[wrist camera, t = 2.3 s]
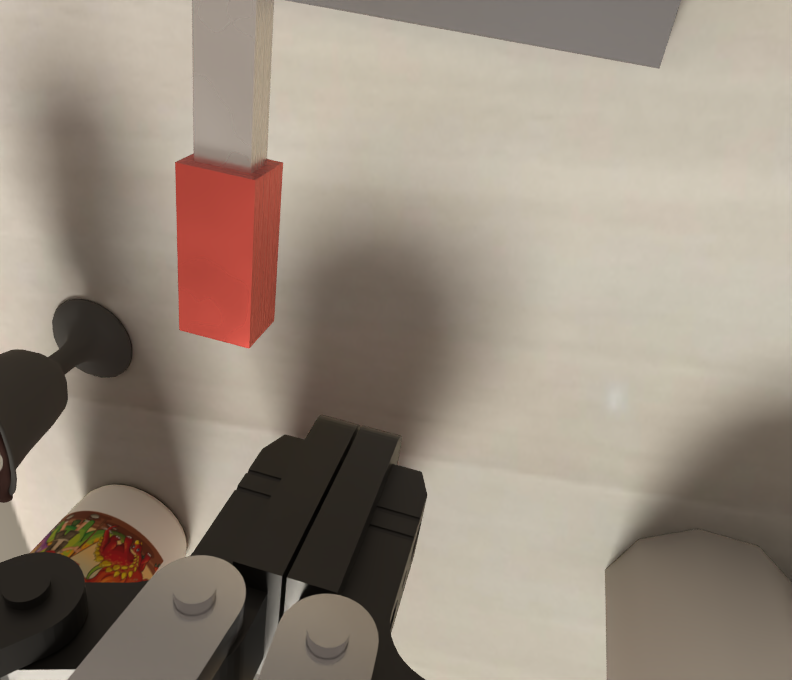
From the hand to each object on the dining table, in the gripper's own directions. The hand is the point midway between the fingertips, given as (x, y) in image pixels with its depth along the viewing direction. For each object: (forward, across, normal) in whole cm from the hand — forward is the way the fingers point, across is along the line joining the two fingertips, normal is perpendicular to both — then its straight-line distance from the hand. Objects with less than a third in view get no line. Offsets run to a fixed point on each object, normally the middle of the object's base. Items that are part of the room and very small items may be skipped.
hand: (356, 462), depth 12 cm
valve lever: (+8, +6, -5) cm, 11 cm away
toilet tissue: (+19, -17, +20) cm, 32 cm away
